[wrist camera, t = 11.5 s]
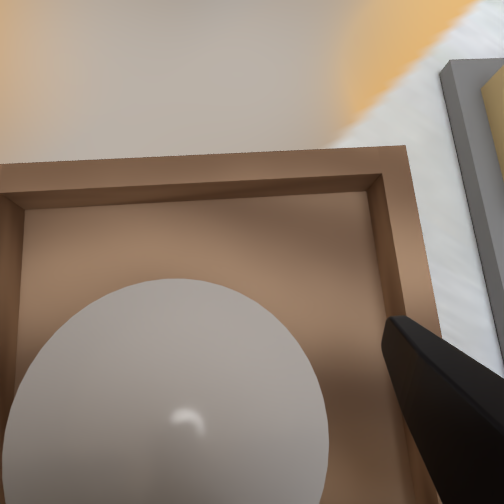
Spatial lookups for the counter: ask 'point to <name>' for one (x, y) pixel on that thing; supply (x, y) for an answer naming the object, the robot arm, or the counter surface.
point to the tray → (239, 273)
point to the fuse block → (481, 161)
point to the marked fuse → (168, 405)
